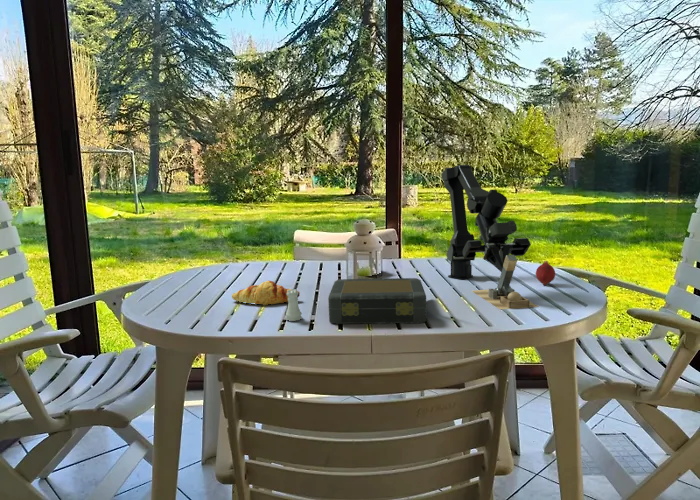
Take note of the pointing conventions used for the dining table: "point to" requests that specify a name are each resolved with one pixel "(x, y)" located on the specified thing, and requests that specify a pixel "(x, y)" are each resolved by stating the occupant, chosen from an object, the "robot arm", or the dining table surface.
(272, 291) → the croissant
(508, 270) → the lever
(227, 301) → the dining table surface
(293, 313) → the rook chess piece
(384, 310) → the cash box
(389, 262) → the dining table surface
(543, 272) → the onion
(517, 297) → the beige ball
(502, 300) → the base
